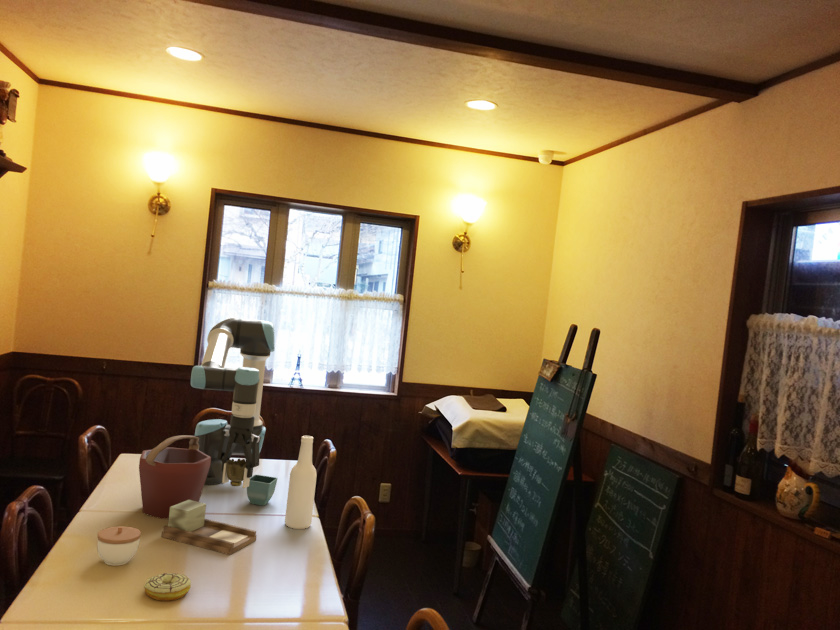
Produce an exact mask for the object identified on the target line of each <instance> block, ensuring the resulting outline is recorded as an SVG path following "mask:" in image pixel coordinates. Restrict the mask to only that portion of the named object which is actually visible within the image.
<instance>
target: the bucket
mask: <svg viewBox="0 0 840 630" xmlns="http://www.w3.org/2000/svg"><path fill="white" fill-rule="evenodd" d="M184 439H189V441H188V444H189V445H188V448H182V447H181V448H180V447H170V445H172V444H173V443H175V442H176V441H180V440H184ZM198 441H199V438H198V437H195V435H186V434H185V435H184V434H183V435H182V434H181V435H174V436H171V437H168V438H166V439H164V440H162V442H161V443H159V444H158V445H156V446H155V447H154V448H152V449H145V450H142V452H141V455H140V457H139V464H138V472H139V481H140V484H139V485H140V494H141V504H142V513H145V514H144V515H146V514H148V516H150V515H151V516H150V517H153V516H154V518H157V517H158V519H169V512H170V507H171V506H174V505H176V504H179V503H182V502H184V501H187V500H192V501H197V502H200V499H201V496H202V493H203V489H204V486H205V485H206V484H205V480H206V477H207V474H208V471H209V468H210V462H211V457H210V456H208V455H206V454H205V453H203V452H201V451H199V444H198Z"/></svg>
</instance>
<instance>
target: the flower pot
mask: <svg viewBox="0 0 840 630" xmlns="http://www.w3.org/2000/svg"><path fill="white" fill-rule="evenodd" d="M277 482H278V477H274V476H268V475H261V474H254V475H252V477H251V478H250V482H249V486H248V487H246V494H247V499H248V501H249V503H250V504H252V505H256V506H257V505H258V506H262V505H263V506H266V505H267V504H268V503H269V502H270V500H271V499H272V498H273V495H274V493H275V490H276V486H277Z"/></svg>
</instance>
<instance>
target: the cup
mask: <svg viewBox="0 0 840 630" xmlns="http://www.w3.org/2000/svg"><path fill="white" fill-rule="evenodd" d="M246 467H247V464H246V459H245V458H242V459H241V458H237V460H234V458H230V459H229V460H228V461H227V477H228V479H229V483H230V484H229V485H230V486H232V487H240V486H242V485H243V478H244V469H245V468H246Z"/></svg>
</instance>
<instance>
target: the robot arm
mask: <svg viewBox="0 0 840 630" xmlns="http://www.w3.org/2000/svg"><path fill="white" fill-rule="evenodd" d="M206 340H207V341H206V342H207V347H206V350H205V352H204V355H203V358H202V362H201V365H194V366H193V367H192V369H191V376H190V386H191V387H192V388H195V389H200V390H212V391H213V390H214V391H227V392H233V397H232V404H231V414H232V415H230V421H229V422H230V424H229V423H228V420H226V419H221V418H220V419H219V418H218V419H217V418H216V419H215V418H213V419H207V420H202V421H199V422H198V423H197V424H196V426H195V430H194V431H195V432H194V435H193V436H195V437H198V438H199V441H198V444H199V451H201V452H203V453H205V454H206V455H208V456H210V457H211V462H210V468H209V471H208V474H207V477H206V480H205V484H204V485H216V484H221V483H222V484H227V483H230V480H229V479H228V477H227V461H228V460H229V459H230V460H231V457H232V456H244V459H245V461H246V464H247V467H246V468H245V469H244V478H243V481H242V488H243V489H247V487H248V486H249V482H250V478H251V477H252V476H254V475H253V472H254V468H256V467H259V466H260V453H261V451H262V447H263V443H264V439H265V434H266V430H267V428H266V427H265V426H264V425H263V424H264V422H263V421H262V419H261V418H260V417H261V416H260V415H261V408H262V406H261V405H262V399H263V398H262V397H263V388H264V387H263V386H264V379H265V372H266V371H265V369H266V362H267V361H266V360H267V359H269V358H270V356H271V353H273V352H275V347H276V346H275V325H274V324H273V323H272V322H271V321H267V320H263V319H262V320H261V319H260V320H259V319H249V318H238V317H233V318H232V317H230V318H227V319H224V320H222V321H220V322H218V323H216V324H215V325H214V326H213V327H211V329H210V330H209V331H208V335H207V339H206ZM232 348H233V349H235V348H236V349H240V352H239V354H240V355H241V356H242V357H243V359H242V360H243V361H242V367H238V368H227V367H225V365H226V361H227V357H228V353H229V350H230V349H232Z"/></svg>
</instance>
